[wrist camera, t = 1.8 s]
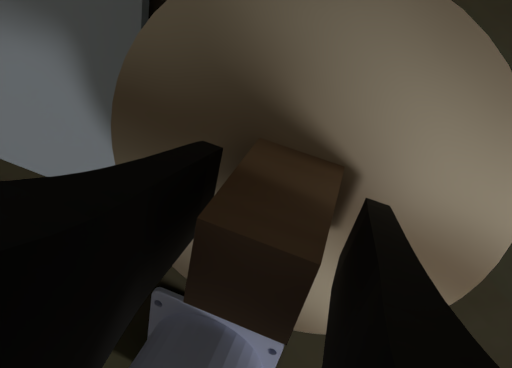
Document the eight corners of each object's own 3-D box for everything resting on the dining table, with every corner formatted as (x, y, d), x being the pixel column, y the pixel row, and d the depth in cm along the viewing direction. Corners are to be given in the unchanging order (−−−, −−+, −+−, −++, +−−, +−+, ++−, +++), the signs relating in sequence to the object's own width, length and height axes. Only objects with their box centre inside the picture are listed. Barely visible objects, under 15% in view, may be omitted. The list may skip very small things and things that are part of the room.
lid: (405, 361, 14) (409, 521, 10) (121, 246, 16) (28, 343, 12) (650, 30, 8) (930, 100, 4) (132, -103, 9) (-64, -154, 5)
